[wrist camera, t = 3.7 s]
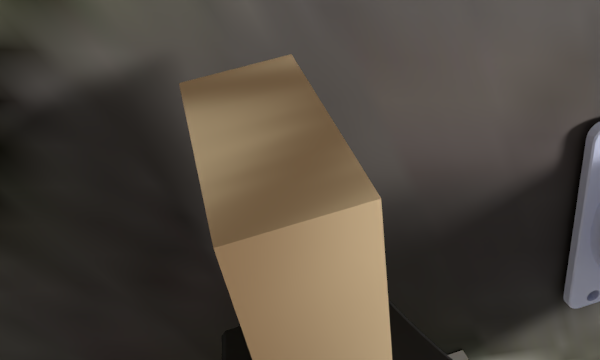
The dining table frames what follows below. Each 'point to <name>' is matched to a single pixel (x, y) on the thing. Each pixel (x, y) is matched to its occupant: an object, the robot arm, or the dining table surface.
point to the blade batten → (289, 216)
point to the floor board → (458, 355)
